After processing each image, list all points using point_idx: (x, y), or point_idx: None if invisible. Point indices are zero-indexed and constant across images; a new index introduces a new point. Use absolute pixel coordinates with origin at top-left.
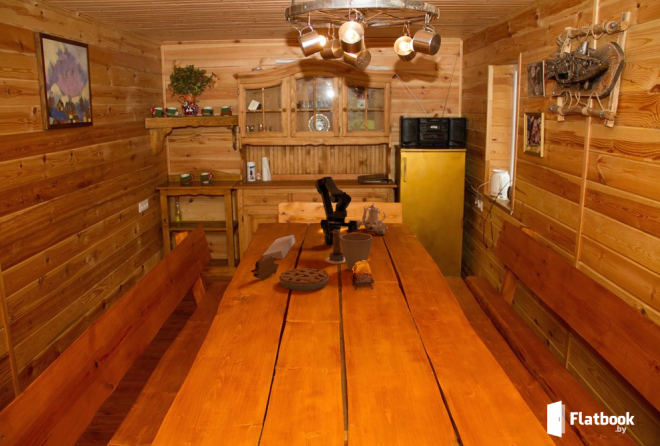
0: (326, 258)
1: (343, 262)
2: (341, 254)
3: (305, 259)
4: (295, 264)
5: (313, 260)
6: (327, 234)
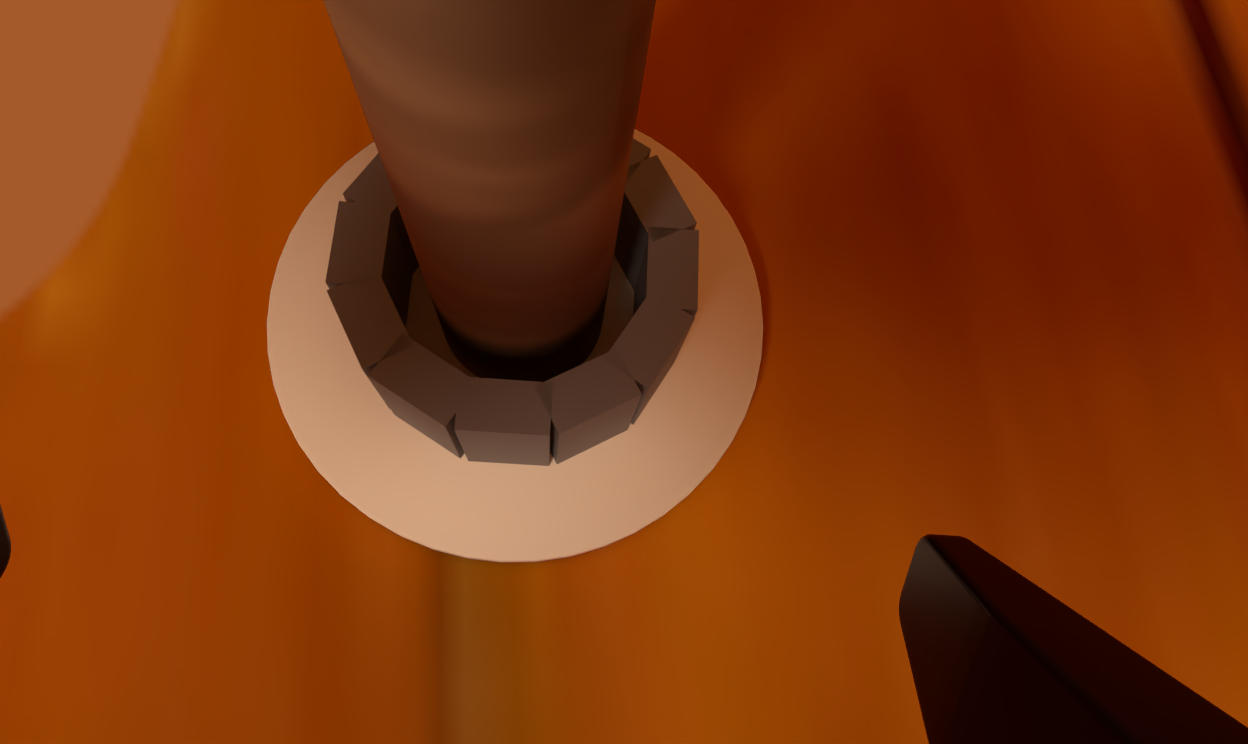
0: (754, 382)
1: (372, 149)
2: (391, 299)
3: (1175, 390)
4: (1235, 87)
5: (1000, 327)
6: (1124, 645)
